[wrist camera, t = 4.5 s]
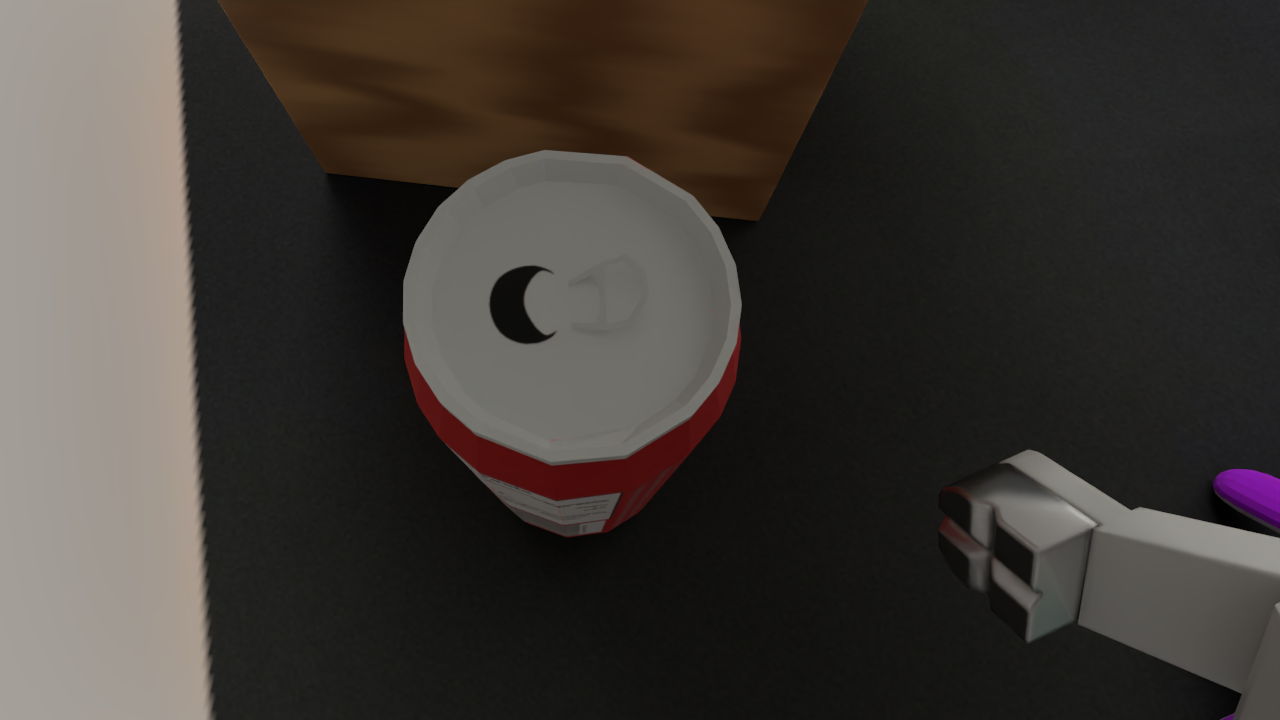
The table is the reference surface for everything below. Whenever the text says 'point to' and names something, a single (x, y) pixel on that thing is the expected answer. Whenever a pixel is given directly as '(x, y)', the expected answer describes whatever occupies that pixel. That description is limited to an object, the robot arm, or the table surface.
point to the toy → (1251, 498)
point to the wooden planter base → (553, 84)
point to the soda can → (571, 333)
